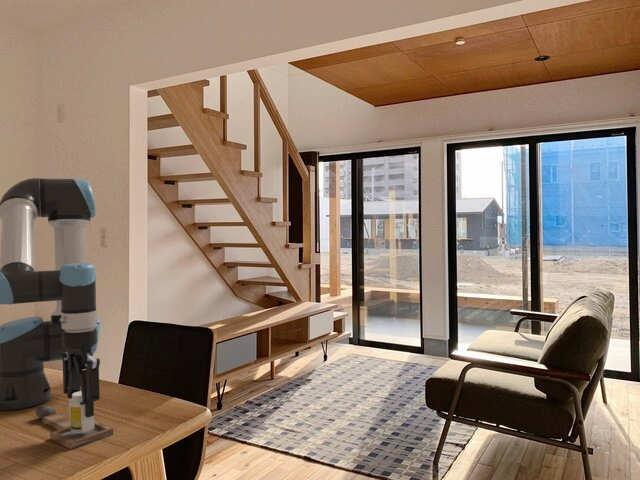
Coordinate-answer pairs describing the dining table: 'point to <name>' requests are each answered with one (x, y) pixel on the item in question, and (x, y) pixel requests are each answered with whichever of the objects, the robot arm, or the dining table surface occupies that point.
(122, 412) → the dining table surface
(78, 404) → the supplement bottle
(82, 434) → the wooden tray with handle
